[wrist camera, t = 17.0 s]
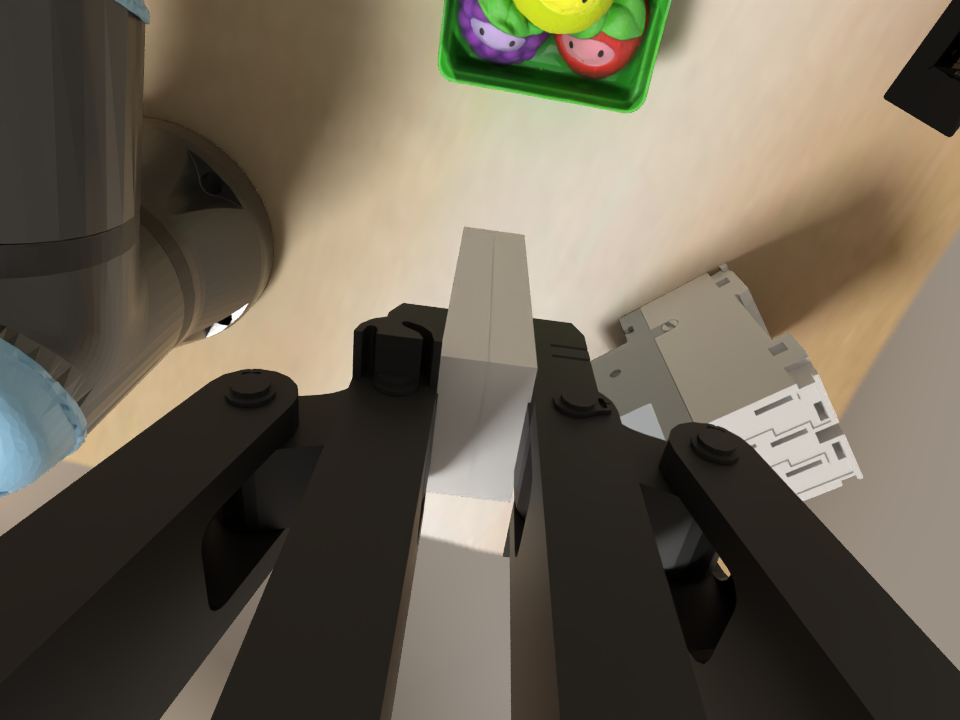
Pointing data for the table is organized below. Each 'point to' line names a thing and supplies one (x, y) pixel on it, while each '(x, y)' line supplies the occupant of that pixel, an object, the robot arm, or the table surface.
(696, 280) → the circuit breaker
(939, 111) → the black stepped block
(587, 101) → the fruit basket
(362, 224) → the table surface
